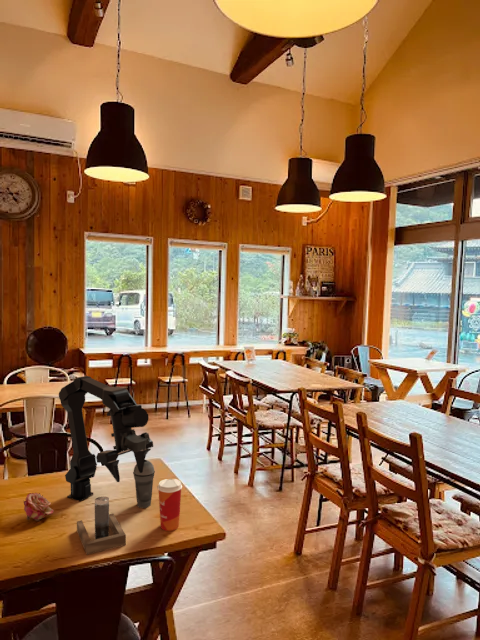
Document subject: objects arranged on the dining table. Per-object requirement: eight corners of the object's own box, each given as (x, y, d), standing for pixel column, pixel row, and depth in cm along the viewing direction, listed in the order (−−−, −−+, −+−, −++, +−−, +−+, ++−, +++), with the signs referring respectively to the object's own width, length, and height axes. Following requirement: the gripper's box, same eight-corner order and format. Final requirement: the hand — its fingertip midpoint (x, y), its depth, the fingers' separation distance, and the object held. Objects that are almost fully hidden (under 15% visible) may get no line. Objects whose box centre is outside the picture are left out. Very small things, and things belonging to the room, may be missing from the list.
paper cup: (158, 520, 152) (158, 478, 151) (182, 520, 153) (182, 477, 152) (156, 533, 145) (156, 488, 144) (181, 532, 145) (181, 488, 144)
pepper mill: (92, 542, 139) (91, 500, 138) (101, 535, 143) (101, 495, 142) (102, 545, 138) (102, 503, 137) (112, 539, 141) (111, 498, 140)
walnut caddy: (76, 530, 145) (76, 521, 145) (113, 522, 151) (113, 513, 151) (86, 554, 133) (86, 544, 133) (125, 544, 138) (125, 534, 138)
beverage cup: (150, 511, 159) (149, 452, 157) (129, 508, 160) (129, 450, 159) (158, 501, 166) (158, 445, 164) (138, 499, 167) (138, 443, 166)
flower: (15, 523, 146) (31, 502, 146) (14, 505, 154) (29, 485, 154) (43, 533, 151) (59, 512, 151) (40, 514, 159) (55, 495, 159)
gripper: (114, 434, 141) (122, 487, 140) (160, 420, 155) (168, 468, 154) (91, 435, 147) (99, 486, 146) (138, 422, 162) (145, 468, 161)
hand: (130, 477), depth 152 cm, fingers open, 9 cm apart
